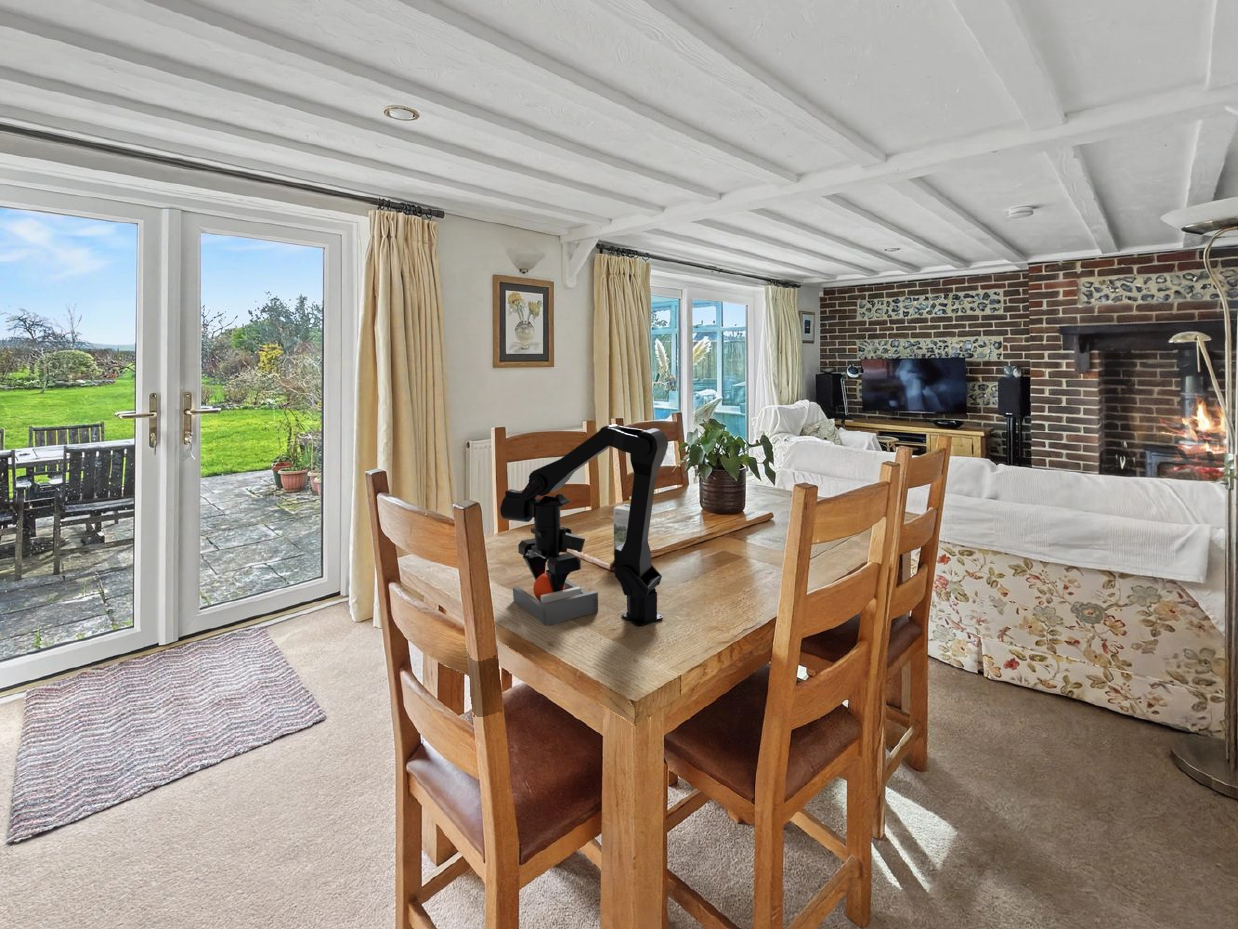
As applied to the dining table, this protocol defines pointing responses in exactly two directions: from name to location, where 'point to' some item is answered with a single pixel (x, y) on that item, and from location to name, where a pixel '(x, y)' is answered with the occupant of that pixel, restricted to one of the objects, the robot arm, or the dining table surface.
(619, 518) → the syrup box
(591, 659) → the dining table surface
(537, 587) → the clementine
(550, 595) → the pusher paddle
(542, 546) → the robot arm
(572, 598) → the grey shallow tray
